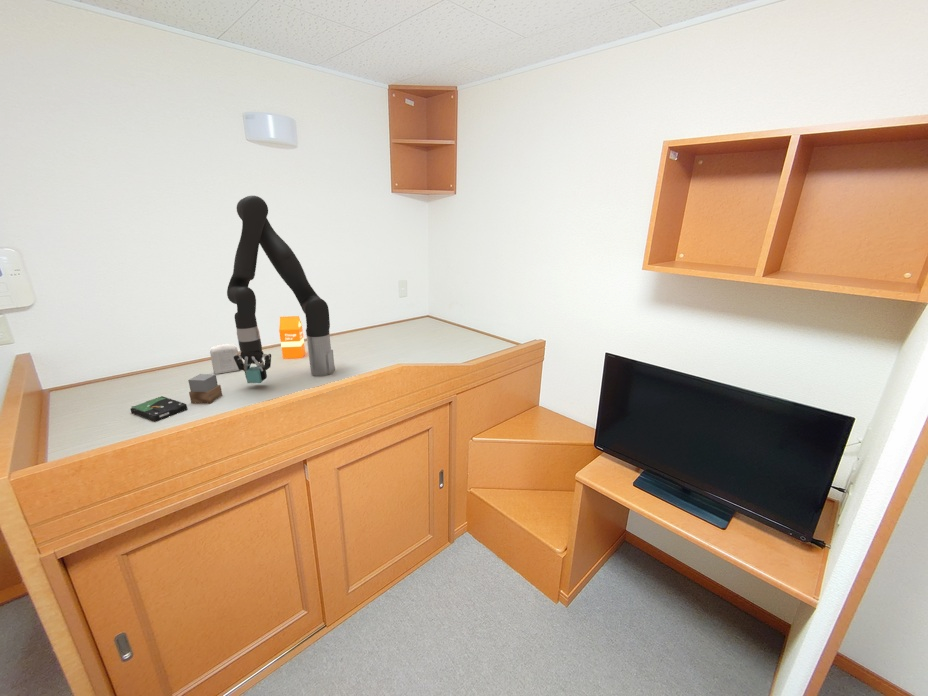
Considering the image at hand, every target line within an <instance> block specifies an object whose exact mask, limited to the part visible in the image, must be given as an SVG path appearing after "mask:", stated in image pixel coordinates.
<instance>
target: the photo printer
mask: <svg viewBox="0 0 928 696" xmlns="http://www.w3.org/2000/svg"><path fill="white" fill-rule="evenodd" d="M209 351H210V352H209V354H210V357H211V358H210V359H211V365H212V371H213V374H216V375H219V374H223V373H230V372H237V371H240V370H239V369H238V366H237V364H236V362H235V360H234V356H235V355H237V354H239V350H238V348H237V345H236V344H234V343H222V344H218V345H217V344H216V345H214V346H212V347H210V350H209Z"/></svg>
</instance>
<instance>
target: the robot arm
mask: <svg viewBox="0 0 928 696" xmlns="http://www.w3.org/2000/svg"><path fill="white" fill-rule="evenodd" d="M236 212H237V215H238V217H239V218H240V219H241V221H242V222H241V223H242V227H241V234H240V239H239V241H238V245H237V248H236V251H235V257H234V263H233V272H232V275H231V278H230V279H229V282H228V286H227V290H226V296H227V298H228V301H229V302H231V303H233V304H234V305H236V310H237V311H236V312H235V313H234V323H235V328H236V336H237V342H238V347H239V351H240V353H238V354H237V355H235V356H234V360H235V362H236V364H237V366H238V369H239V370H238V371H243V372H244V375H245V376H246V373H245V371H246V370H248V369H249V368H251V365H256V366H255V367H258V368H259V369H260V371H261V372H260V373H261V379H262V380H264V381H265V380H266V379H268V375H267V370H268V369H270V368H271V364H272V354H271V353H268V354H267V353H264V351H263V345H262V340H261V336H260V335H261V334H260V330H259V328H258V327H259V326H258V322H257V317H256V312H257V311H256V310H257V298H256V294H255V292H254V290H253V289H252V288H251V287H249V285H250V281H253V280H254V278H255V276H256V269H257V263H258V262H257V261H258V255H259V247H261V248H262V251H263V252H264V253H265V256H267V258H268V260H269V261H270V263H271V265H272V266H273V268H274V269H275V271H276V272H277V274H278V275H279V276H280V278H281V279H282V280H283V282H284V283H285V284H286V285H287V286H288V287H289V289H290V290H291V291H292V293H293V294H294V295H295V298H296V300H297V302H298V303H299V305H300V307H301V310H302V311H303V313H304V315H305V319H306V320H305V323H306V328H305V336H306V340H307V350H308V360H309V367H310V368H309V369H310V374H311V376H316V377H320V376H321V377H323V376H330V375H332V374H333V373H334V372H335V370H336V368H335V359H334V356H335V355H334V350H333V349H332V346H331V345H332V344H331V336H330V334H331V333H330V329H331V328H330V327H331V323H330V320H331V319H330V310H329V305H328V303H327V302H326V301H325V300H324V299H322V298H321V297H320V296H319V294H317V293H316V291H315V290H314V288H313V287H312V285H311V284H310V283H309V280H308V278H307V276H306V272H305V270H304V269H303V266H302V263H301V262H300V261H299V259H298V257H297V255H296V254H295V253H294V251H293V249H292V248H291V247H290V246H289V245H288V244H287V242H285V240H284V239H283V238H282V237H281V236H280V235H279V234H278V233H277V232H276V230H274V228H273V227H272V224H271V223H270V221H269V220H268V214H269V207H268V204H267V202H266V201H265V200H264V199H263V197H260V196H257V195H247V196H245V197H243V198H241V199H239V201H238V202H237V204H236ZM245 378H246V377H245ZM246 380H247V378H246Z"/></svg>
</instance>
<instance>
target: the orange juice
mask: <svg viewBox="0 0 928 696" xmlns="http://www.w3.org/2000/svg"><path fill="white" fill-rule="evenodd" d="M278 326H279V327H278V332H279V339H280V347H281V353H282V359H283V360H291V359H295V360H296V359H302V358H303V357H304V356H305V355H306V345H305V338H304V330H303V325H302V321H301V318H300V316H299V315H298V316H297V315H296V316H295V315H294V316H279V325H278Z"/></svg>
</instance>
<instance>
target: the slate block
mask: <svg viewBox="0 0 928 696" xmlns="http://www.w3.org/2000/svg"><path fill="white" fill-rule="evenodd" d="M187 382H188V385H189V391H191V392H208V391H210V390H211V389H213V388H215V387H217V386H218V385H219V384H218V380H217V374H214V373H212V374H210V373H199V374H197V375H195V376H193V377H191V378H190V379H188V381H187Z"/></svg>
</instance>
